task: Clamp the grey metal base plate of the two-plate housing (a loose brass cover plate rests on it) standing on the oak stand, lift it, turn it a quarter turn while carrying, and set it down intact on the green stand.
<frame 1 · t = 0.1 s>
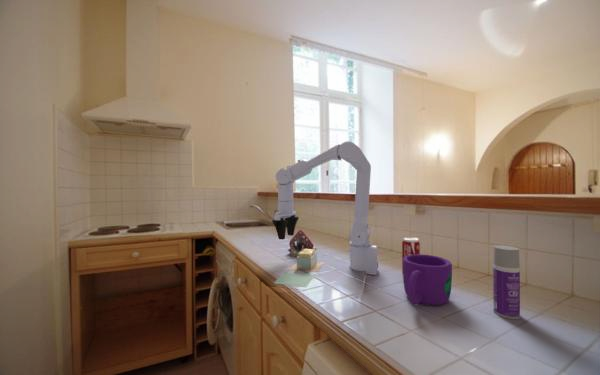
hand: (286, 237, 97), 10 cm above the counter, fingers open, 7 cm apart
soda can: (411, 276, 82), on the counter
stand b: (294, 282, 78), on the counter
container: (506, 314, 58), on the counter
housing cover: (307, 254, 90), point 5 cm above the counter, touching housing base
mug: (422, 302, 64), on the counter
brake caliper: (301, 256, 107), on the counter
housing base: (307, 266, 90), point 1 cm above the counter, touching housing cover, stand a
stand a: (307, 268, 90), on the counter
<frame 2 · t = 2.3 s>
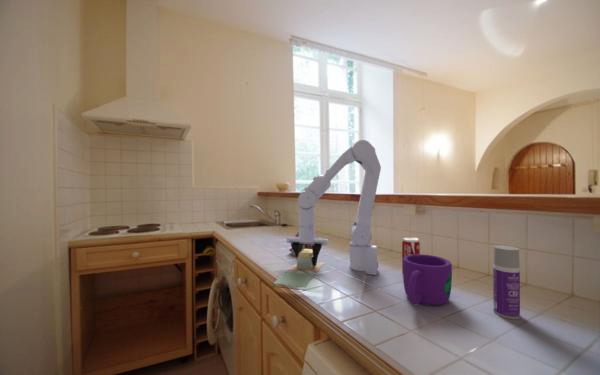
hand: (307, 264, 90), 2 cm above the counter, fingers closed on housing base, 5 cm apart
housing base: (307, 266, 90), point 1 cm above the counter, touching gripper, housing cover, stand a
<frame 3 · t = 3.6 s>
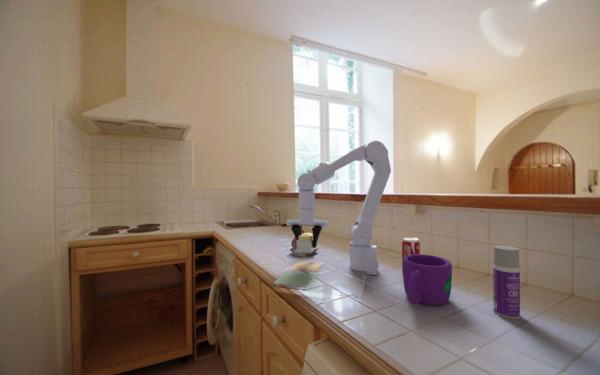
hand: (307, 246, 90), 8 cm above the counter, fingers closed on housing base, 5 cm apart
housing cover: (307, 238, 90), point 11 cm above the counter, touching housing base
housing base: (307, 249, 90), point 7 cm above the counter, touching gripper, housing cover
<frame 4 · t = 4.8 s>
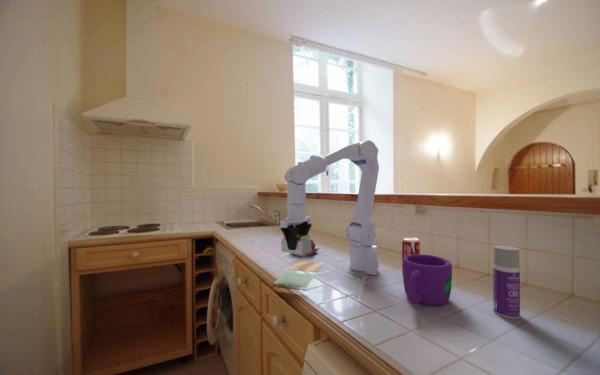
hand: (296, 247, 80), 10 cm above the counter, fingers closed on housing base, 5 cm apart
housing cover: (295, 238, 81), point 13 cm above the counter, touching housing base
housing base: (296, 251, 80), point 9 cm above the counter, touching gripper, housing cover
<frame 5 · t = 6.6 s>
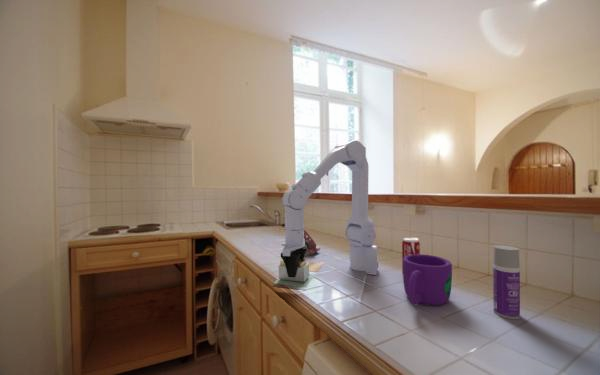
hand: (294, 273, 78), 3 cm above the counter, fingers closed on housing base, 5 cm apart
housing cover: (293, 264, 78), point 5 cm above the counter, touching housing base
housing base: (294, 277, 78), point 1 cm above the counter, touching gripper, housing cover
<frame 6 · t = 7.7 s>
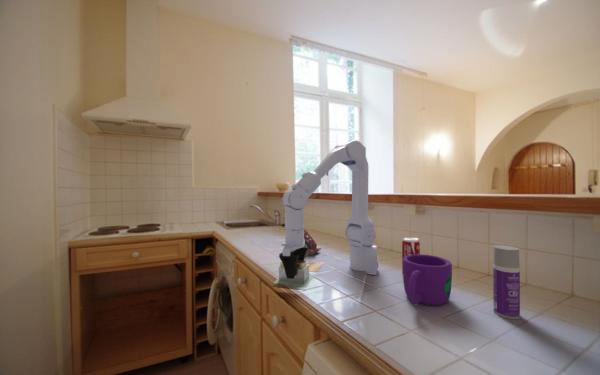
hand: (294, 273, 78), 3 cm above the counter, fingers open, 7 cm apart
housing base: (294, 278, 78), point 1 cm above the counter, touching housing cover, stand b
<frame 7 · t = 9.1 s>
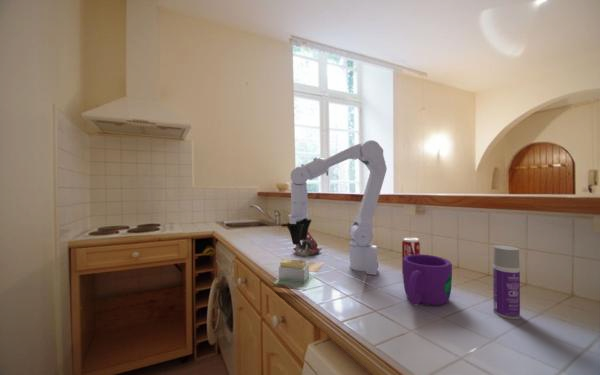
hand: (299, 241, 89), 10 cm above the counter, fingers open, 7 cm apart
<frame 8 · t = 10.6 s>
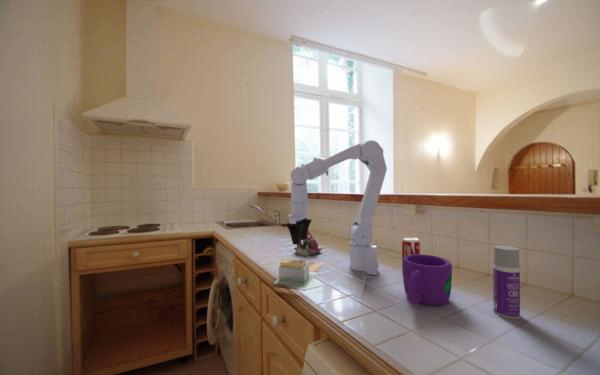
hand: (299, 241, 89), 10 cm above the counter, fingers open, 7 cm apart
at the end: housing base inside the target area on the stand b (0.2 cm from its centre), point 1.0 cm above the stand b's base; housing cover 0.4 cm from the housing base (horizontally); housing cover point 5.0 cm above the counter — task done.
